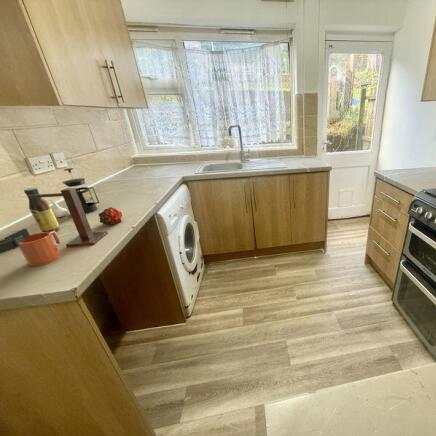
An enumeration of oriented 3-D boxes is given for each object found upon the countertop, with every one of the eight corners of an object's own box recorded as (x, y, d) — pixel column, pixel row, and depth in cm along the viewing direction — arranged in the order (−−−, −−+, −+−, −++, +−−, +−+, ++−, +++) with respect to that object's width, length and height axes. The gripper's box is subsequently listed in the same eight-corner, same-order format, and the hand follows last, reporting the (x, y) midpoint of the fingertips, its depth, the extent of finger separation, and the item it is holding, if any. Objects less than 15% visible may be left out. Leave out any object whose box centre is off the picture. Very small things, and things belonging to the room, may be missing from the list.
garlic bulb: (68, 216, 125) (61, 201, 121) (52, 219, 122) (44, 204, 118) (69, 212, 129) (63, 198, 126) (54, 215, 126) (46, 201, 123)
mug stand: (41, 249, 94) (13, 195, 85) (60, 237, 103) (37, 187, 94) (94, 245, 96) (72, 192, 87) (108, 234, 105) (90, 184, 96)
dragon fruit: (109, 232, 110) (117, 225, 121) (123, 219, 111) (129, 213, 121) (90, 220, 106) (100, 214, 117) (105, 206, 107) (113, 201, 118)
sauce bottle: (41, 231, 109) (19, 189, 101) (60, 226, 113) (39, 185, 105) (43, 235, 105) (19, 192, 97) (61, 230, 109) (40, 188, 101)
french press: (75, 216, 124) (55, 172, 115) (73, 212, 130) (53, 169, 121) (102, 209, 132) (85, 167, 122) (99, 205, 138) (83, 165, 128)
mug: (48, 265, 84) (36, 242, 80) (22, 267, 83) (9, 244, 79) (73, 247, 95) (64, 226, 92) (50, 248, 94) (40, 227, 91)
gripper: (-144, 298, 54) (-41, 251, 73) (-13, 281, 57) (52, 241, 77) (-170, 269, 51) (-55, 229, 70) (-30, 253, 55) (42, 219, 74)
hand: (1, 235), depth 74 cm, fingers open, 13 cm apart
